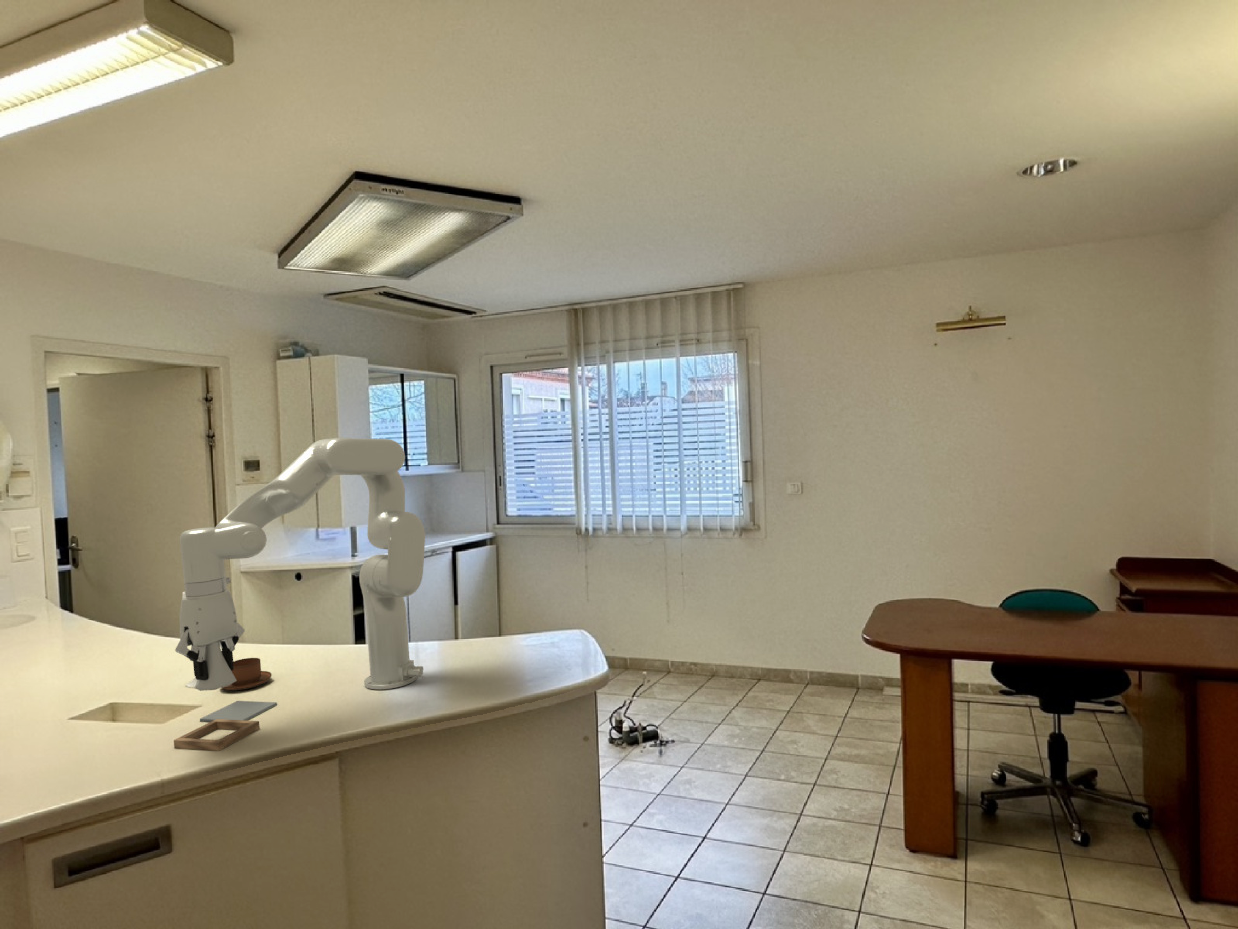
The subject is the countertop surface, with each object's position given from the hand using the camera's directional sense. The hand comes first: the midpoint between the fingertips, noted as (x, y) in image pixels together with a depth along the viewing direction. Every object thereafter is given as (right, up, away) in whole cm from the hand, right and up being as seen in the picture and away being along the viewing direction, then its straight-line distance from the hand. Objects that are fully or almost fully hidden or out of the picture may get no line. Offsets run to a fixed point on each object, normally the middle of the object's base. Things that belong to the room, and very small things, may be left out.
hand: (214, 674), depth 152 cm
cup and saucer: (-11, -13, +35) cm, 39 cm away
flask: (0, -3, 0) cm, 3 cm away
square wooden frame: (+1, -13, 0) cm, 13 cm away
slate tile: (-2, -13, +14) cm, 20 cm away
